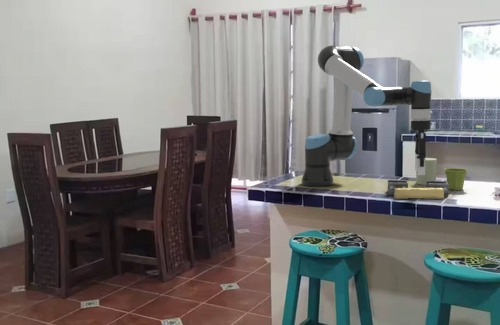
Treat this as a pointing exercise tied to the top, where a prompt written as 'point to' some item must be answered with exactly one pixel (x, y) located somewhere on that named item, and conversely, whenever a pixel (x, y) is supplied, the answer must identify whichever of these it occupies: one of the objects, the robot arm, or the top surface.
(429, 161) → the can
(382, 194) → the top surface
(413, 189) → the yellow wooden bar
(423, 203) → the top surface
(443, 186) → the chain end right
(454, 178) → the plant pot
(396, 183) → the chain end left
